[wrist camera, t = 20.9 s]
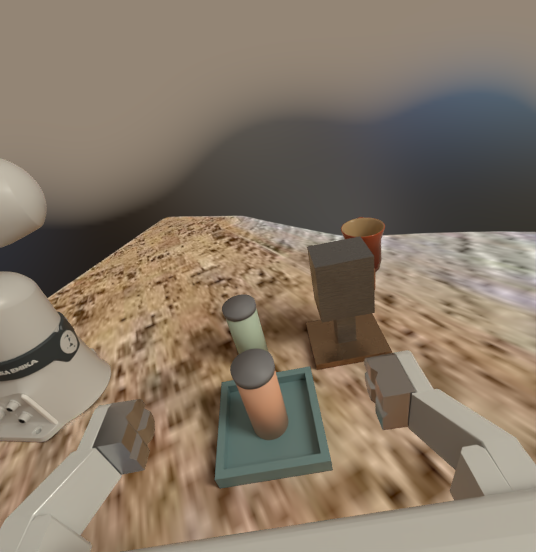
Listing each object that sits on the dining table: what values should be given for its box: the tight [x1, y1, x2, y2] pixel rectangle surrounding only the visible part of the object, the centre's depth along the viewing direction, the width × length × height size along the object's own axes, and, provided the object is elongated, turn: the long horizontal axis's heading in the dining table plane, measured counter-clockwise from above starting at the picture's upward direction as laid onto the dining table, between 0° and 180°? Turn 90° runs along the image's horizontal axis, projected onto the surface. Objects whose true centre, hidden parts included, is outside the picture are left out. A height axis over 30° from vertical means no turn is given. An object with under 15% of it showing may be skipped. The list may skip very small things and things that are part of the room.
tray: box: [215, 367, 333, 488], centre depth 44 cm, size 14×14×2 cm
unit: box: [306, 236, 392, 370], centre depth 49 cm, size 12×10×18 cm
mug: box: [341, 217, 385, 272], centre depth 69 cm, size 12×9×10 cm
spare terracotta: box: [230, 349, 288, 440], centre depth 40 cm, size 5×5×12 cm
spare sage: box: [222, 295, 268, 354], centre depth 52 cm, size 5×5×12 cm
